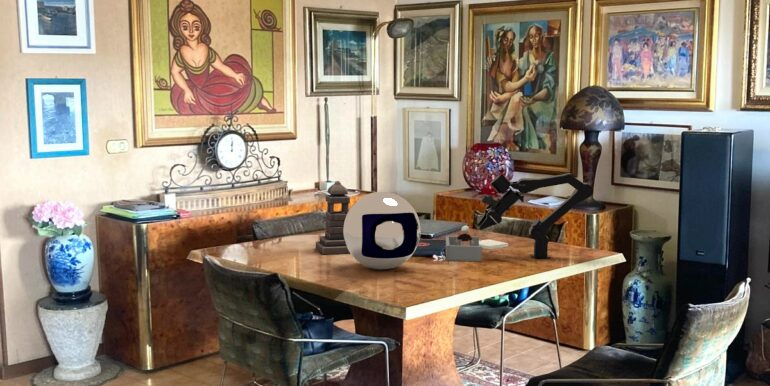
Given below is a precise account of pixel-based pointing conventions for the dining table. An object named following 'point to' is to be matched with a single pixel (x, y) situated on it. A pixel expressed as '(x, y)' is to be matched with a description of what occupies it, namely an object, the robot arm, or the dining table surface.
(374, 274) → the dining table surface
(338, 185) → the miniature tower
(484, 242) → the ceramic tile
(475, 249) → the open crate
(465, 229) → the grandmother figurine
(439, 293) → the dining table surface
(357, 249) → the spherical light
